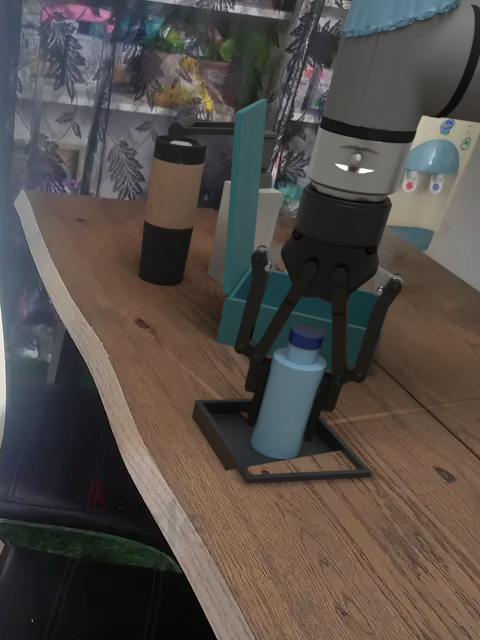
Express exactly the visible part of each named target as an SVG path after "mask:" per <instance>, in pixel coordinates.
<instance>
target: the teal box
mask: <svg viewBox="0 0 480 640" xmlns="http://www.w3.org/2000/svg"><path fill="white" fill-rule="evenodd" d="M251 281H252V268H251V265H250V266H249V267H248V269H247V270H246V271H245V273H244V274H243V275H242V277H241V278H240V280H239V281H238V282H237V284H236V285H235V287H234V288H233V289H232V291H231V292H230V293H229V294H226V296H225V297H224V303H223V306H222V311H221V316H220V319H219V326H218V329H217V334H216V340H215V343H216V344H217V343H218V344H222V345H226V346H229V347H234V346H235V343H236V339H237V335H238V331H239V327H240V323H241V320H242V316H243V312H244V308H245V304H246V300H247V297H248V293H249V289H250V285H251ZM291 286H292V282H291V280H290V277H289V275H288V273H285V271H280V270H275V269H274V271H273V272H271V273H269V278H268V282H267V285H266V289H265V293H264V296H263V300H262V304H261V307H260V311H259V315H258V318H257V322H256V326H255V329H254V333H253V336H252V340H254V341H255V342H257V343H259V341H260V340H261V338H262V336H263V334H264V333H265V331H266V329H267V327H268V326H269V324H270V322H271V320H272V319H273V317H274V315H275V314H276V312H277V310H278V308H279V307H280V305H281V303H282V301H283V300H284V298H285V296H286V295H287V293H288V291H289V289H290V287H291ZM375 299H376V296H375V295H374V294H373V290H367V289H363V288H360V287H359V288H358V289H357V290H355V291H354V292H353V293H352V294H350V295H349V312H348V348H347V365H349V364H356V361H357V357H358V354H359V351H360V348H361V344H362V341H363V338H364V335H365V331H366V328H367V325H368V321H369V318H370V315H371V312H372V308H373V305H374V302H375ZM294 325H309V326H313V327H316V328H318V329H320V330H322V331H323V332H324V334H325V337H324V340H323V343H322V346H321V348H320V349H319V353H318V355H320V356H322V357H323V358H324V359H325V360H326V362H327V367H326V370H329V371H331V364H332V303H330V302H325V301H324V300H322V299H320V298H318V297H314V298H307V297H303V296H301V298H300V300H299V301H298V303H297V305H296V306H295V308H294V309H293V311H292V313H291V314H290V316H289V318H288V319H287V321H286V323H285V324H284V326H283V328H282V330H281V331H280V333H279V335H278V336H277V338H276V340H275V341H274V343H273V345H272V346H271V348H270V350H269V351H268V353H267V355H266V356H270V357H273V353H274V351H275V350H277V349H279V348H284V347H287V345H288V342H289V341H288V338H289V334H290V330H291V327H292V326H294ZM383 328H384V325H383V326H382V329H381V332H380V335H379V338H378V342H377V345H376V348H375V351H374V354H373V357H372V360H371V363H370V367H369V370H368V373H367V376H366V378H367V377H368V375H369V373H370V369H371V366H372V364H373V360H374V358H375V354H376V351H377V349H378V345H379V343H380V340H381V338H382V335H383V330H384V329H383Z"/></svg>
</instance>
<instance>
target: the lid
mask: <svg viewBox="0 0 480 640" xmlns="http://www.w3.org/2000/svg"><path fill="white" fill-rule="evenodd" d="M267 106H268V98H260V99H259V100H257V101H255V102H253V103H251V104H249V105H247V106H245V107H244V108H242V109H240V110H237V111H236V112H235V114H234V121H213V120H212V121H209V120H207V121H205V120H204V121H203V120H198V118H197V117H196V116H195V115H192V114H190V115H187V116H184V117H182V118H179V119H177V120H176V121H173V122H171V123H170V125H169V126H168V129H167V131H168V132H167V135H169V136H170V138H171V139H173V140H179V139H181V138H183V137H188V135H193V136H194V135H195V136H196V135H198V136H200V135H201V136H202V135H203V136H233V140H232V141H233V142H232V143H233V144H232V156H231V157H232V158H231V172H230V181H231V184H230V199H229V213H228V227H227V241H226V256H225V270H224V284H223V286H222V295H228V294H229V293H230V292H231V291H232V289H233V288H234V287H235V285H236V284H237V282H238V281H239V280H240V278H241V277H242V275H243V274H244V273H245V271H246V270H247V269H248V267H249V266H250V264H251V256H252V254H253V251H254V240H255V229H256V218H257V207H258V196H259V185H260V174H261V163H262V152H263V141H264V130H266V117H267V108H268V107H267Z"/></svg>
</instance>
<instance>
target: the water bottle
mask: <svg viewBox="0 0 480 640" xmlns="http://www.w3.org/2000/svg"><path fill="white" fill-rule="evenodd" d="M324 337H325V334H324V332H323V331H322V330H320V329H318V328H316V327H313V326H309V325H294V326H292V327H291V330H290V334H289V338H288V341H289V342H288V345H287V347H284V348H279V349H277V350H275V351H274V353H273V356H271V358H272V361H271V364H270V368H269V372H268V376H267V380H266V383H265V387H264V391H263V395H262V399H261V403H260V406H259V410H258V414H257V418H256V421H255V423H254V429H253V433H252V437H251V445H252V447H253V448H254V449H255V450H256V451H258V452H259V453H261V454H263V455H265V456H267V457H271V458H275V459H289V460H292V459H291V458H294V457H296V456H297V455H298V454H299V453H300V450H301V447H302V444H303V440H304V437H305V434H306V431H307V428H308V424H309V421H310V418H311V415H312V412H313V408H314V406H315V402H316V399H317V396H318V393H319V390H320V386H321V383H322V380H323V377H324V374H325V372H326V370H327V369H326V367H327V362H326V360H325V359H324V358H323V357H322V356H320V355H318V353H319V349H320V348H321V346H322V343H323V340H324Z"/></svg>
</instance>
